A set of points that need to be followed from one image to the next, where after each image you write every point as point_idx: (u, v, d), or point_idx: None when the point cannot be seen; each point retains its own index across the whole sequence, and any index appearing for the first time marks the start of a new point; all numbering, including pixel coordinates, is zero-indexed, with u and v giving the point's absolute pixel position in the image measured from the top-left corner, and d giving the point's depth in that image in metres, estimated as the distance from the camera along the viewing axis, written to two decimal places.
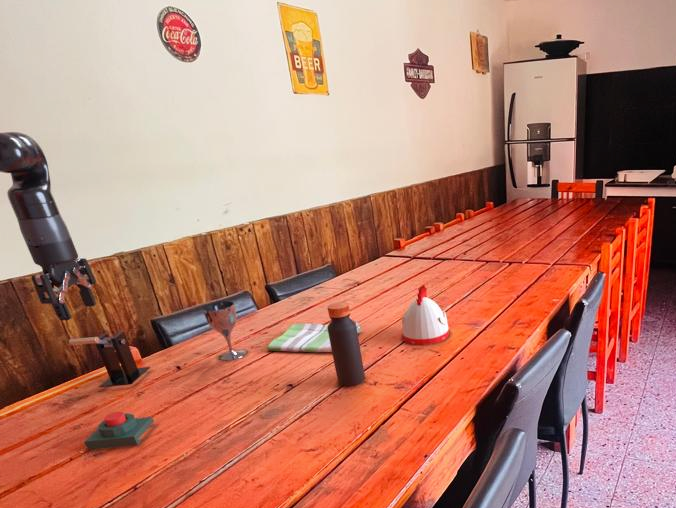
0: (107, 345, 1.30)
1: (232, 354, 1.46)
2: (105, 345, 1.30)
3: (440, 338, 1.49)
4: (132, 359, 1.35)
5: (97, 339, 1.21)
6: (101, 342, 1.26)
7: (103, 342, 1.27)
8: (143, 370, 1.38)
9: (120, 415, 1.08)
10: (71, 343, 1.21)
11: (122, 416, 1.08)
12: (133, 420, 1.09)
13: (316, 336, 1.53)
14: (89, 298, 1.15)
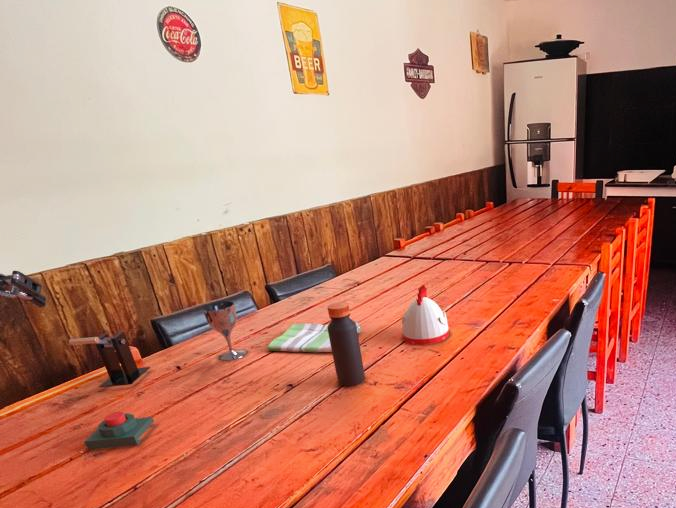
0: (107, 345, 1.30)
1: (232, 354, 1.46)
2: (105, 345, 1.30)
3: (440, 338, 1.49)
4: (132, 359, 1.35)
5: (97, 339, 1.21)
6: (101, 342, 1.26)
7: (103, 342, 1.27)
8: (143, 370, 1.38)
9: (120, 415, 1.08)
10: (71, 343, 1.21)
11: (122, 416, 1.08)
12: (133, 420, 1.09)
13: (316, 336, 1.53)
14: None
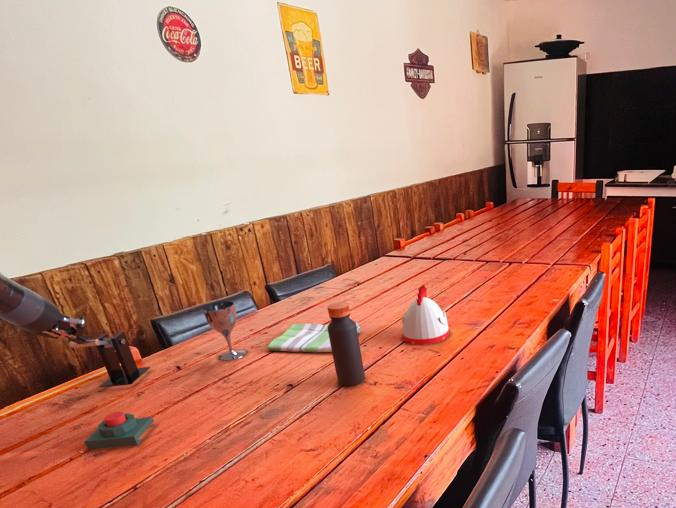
0: (107, 345, 1.30)
1: (232, 354, 1.46)
2: (105, 345, 1.30)
3: (440, 338, 1.49)
4: (132, 359, 1.35)
5: (97, 342, 1.21)
6: (101, 343, 1.26)
7: (103, 343, 1.27)
8: (143, 370, 1.38)
9: (120, 415, 1.08)
10: (71, 346, 1.21)
11: (122, 416, 1.08)
12: (133, 420, 1.09)
13: (316, 336, 1.53)
14: None
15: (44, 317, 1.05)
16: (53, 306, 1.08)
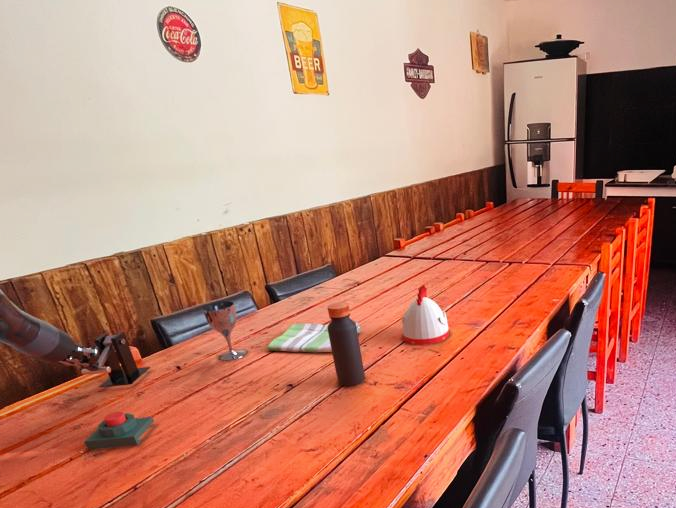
0: None
1: (232, 354, 1.46)
2: None
3: (440, 338, 1.49)
4: (132, 359, 1.35)
5: (108, 369, 1.25)
6: (107, 356, 1.28)
7: (108, 353, 1.29)
8: (143, 370, 1.38)
9: (120, 415, 1.08)
10: (85, 374, 1.24)
11: (122, 416, 1.08)
12: (133, 420, 1.09)
13: (316, 336, 1.53)
14: None
15: (59, 348, 1.09)
16: (67, 337, 1.11)
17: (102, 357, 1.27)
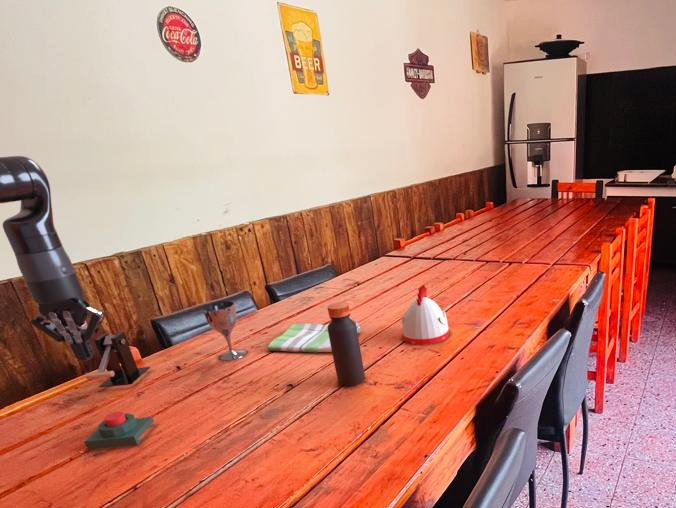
0: None
1: (232, 354, 1.46)
2: None
3: (440, 338, 1.49)
4: (132, 359, 1.35)
5: (112, 373, 1.26)
6: (108, 358, 1.29)
7: (109, 355, 1.29)
8: (143, 370, 1.38)
9: (120, 415, 1.08)
10: (89, 378, 1.26)
11: (122, 416, 1.08)
12: (133, 420, 1.09)
13: (316, 336, 1.53)
14: None
15: (65, 282, 0.93)
16: (80, 285, 0.97)
17: (104, 360, 1.28)
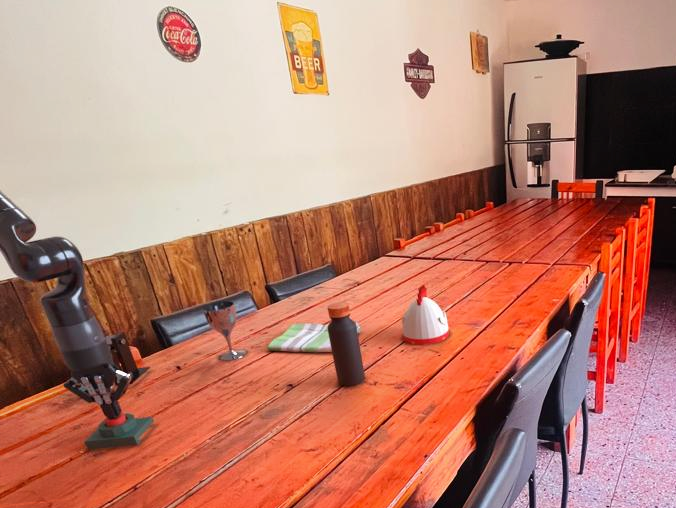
0: None
1: (232, 354, 1.46)
2: None
3: (440, 338, 1.49)
4: (132, 359, 1.35)
5: None
6: None
7: None
8: (143, 370, 1.38)
9: (121, 416, 1.08)
10: None
11: (123, 417, 1.08)
12: (133, 420, 1.09)
13: (316, 336, 1.53)
14: None
15: (97, 350, 1.00)
16: (110, 351, 1.03)
17: None
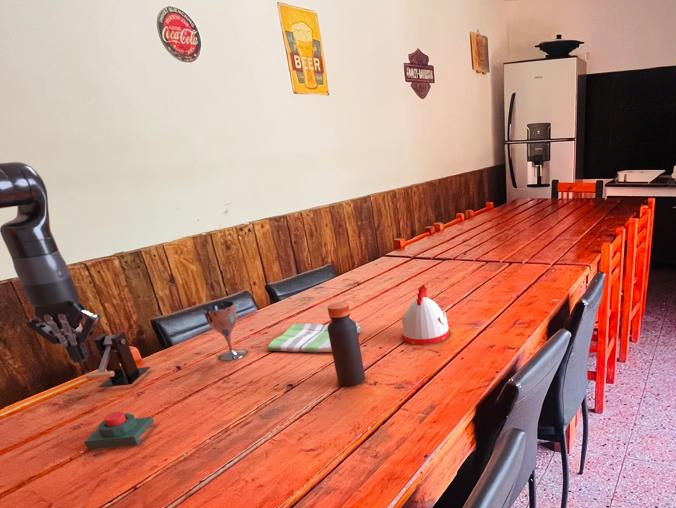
0: None
1: (232, 354, 1.46)
2: None
3: (440, 338, 1.49)
4: (132, 359, 1.35)
5: (112, 373, 1.26)
6: (108, 358, 1.29)
7: (109, 355, 1.29)
8: (143, 370, 1.38)
9: (120, 415, 1.08)
10: (89, 378, 1.26)
11: (122, 416, 1.08)
12: (133, 420, 1.09)
13: (316, 336, 1.53)
14: None
15: (61, 286, 0.95)
16: (75, 289, 0.99)
17: (104, 360, 1.28)
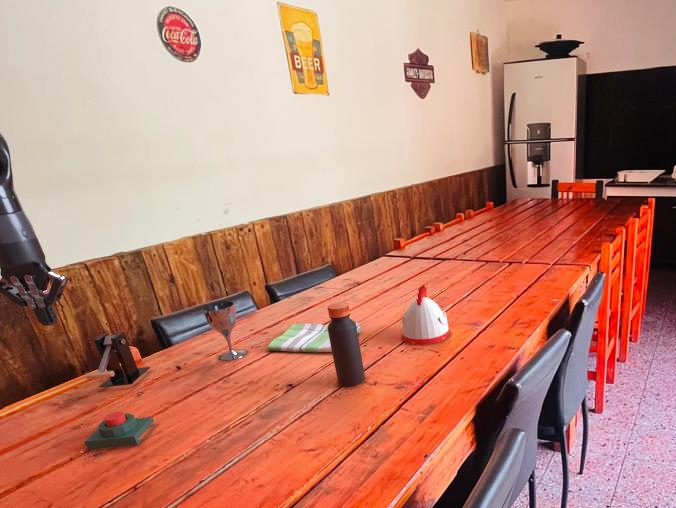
0: None
1: (232, 354, 1.46)
2: None
3: (440, 338, 1.49)
4: (132, 359, 1.35)
5: (112, 373, 1.26)
6: (108, 358, 1.29)
7: (109, 355, 1.29)
8: (143, 370, 1.38)
9: (120, 415, 1.08)
10: (89, 378, 1.26)
11: (122, 416, 1.08)
12: (133, 420, 1.09)
13: (316, 336, 1.53)
14: None
15: (26, 246, 0.95)
16: (42, 250, 0.98)
17: (104, 360, 1.28)
